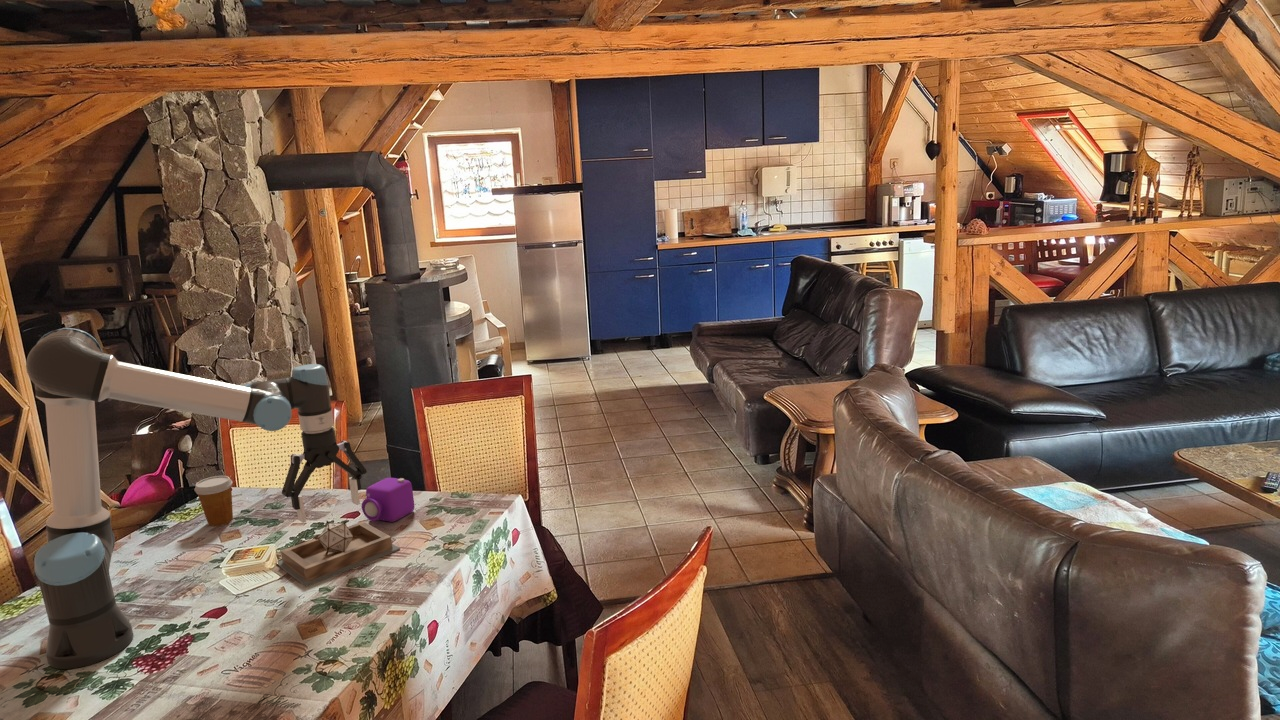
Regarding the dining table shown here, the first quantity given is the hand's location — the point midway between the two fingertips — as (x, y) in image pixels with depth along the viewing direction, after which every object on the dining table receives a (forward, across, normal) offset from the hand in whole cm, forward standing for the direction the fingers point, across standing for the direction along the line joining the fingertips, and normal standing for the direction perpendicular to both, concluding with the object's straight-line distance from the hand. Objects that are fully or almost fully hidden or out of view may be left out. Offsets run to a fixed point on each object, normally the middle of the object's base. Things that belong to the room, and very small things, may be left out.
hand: (329, 512), depth 207 cm
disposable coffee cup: (+13, -12, +49) cm, 52 cm away
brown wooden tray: (+12, 0, 0) cm, 12 cm away
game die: (+11, +1, 0) cm, 11 cm away
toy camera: (+12, +20, +12) cm, 27 cm away
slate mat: (+12, 0, 0) cm, 12 cm away
